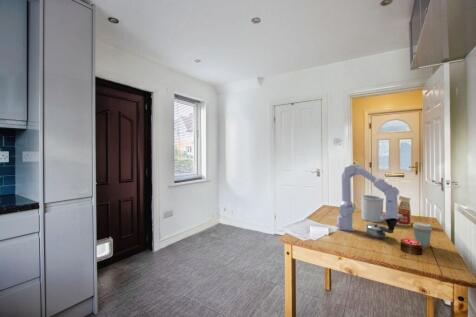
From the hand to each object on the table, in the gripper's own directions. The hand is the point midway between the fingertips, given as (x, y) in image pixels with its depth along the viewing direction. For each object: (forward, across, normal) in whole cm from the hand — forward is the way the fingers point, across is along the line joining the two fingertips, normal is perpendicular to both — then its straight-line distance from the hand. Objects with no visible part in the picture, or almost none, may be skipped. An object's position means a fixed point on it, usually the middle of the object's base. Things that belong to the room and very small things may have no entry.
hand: (391, 230), depth 135 cm
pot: (+6, -3, +7) cm, 10 cm away
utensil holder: (+6, +22, +36) cm, 42 cm away
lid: (+1, -2, +6) cm, 6 cm away
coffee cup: (+6, +10, -10) cm, 16 cm away
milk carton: (+6, +36, +22) cm, 42 cm away
